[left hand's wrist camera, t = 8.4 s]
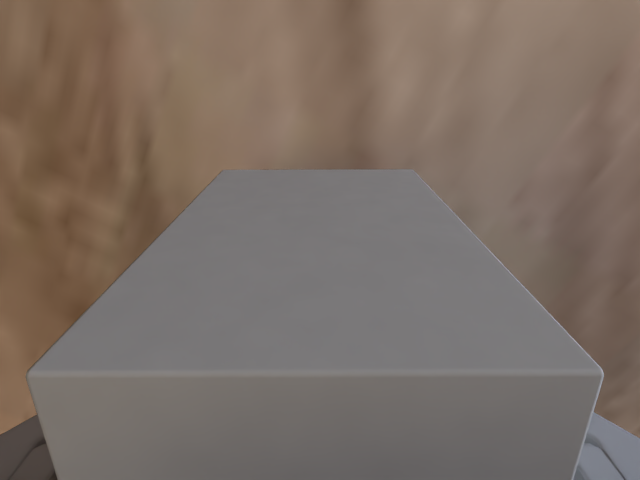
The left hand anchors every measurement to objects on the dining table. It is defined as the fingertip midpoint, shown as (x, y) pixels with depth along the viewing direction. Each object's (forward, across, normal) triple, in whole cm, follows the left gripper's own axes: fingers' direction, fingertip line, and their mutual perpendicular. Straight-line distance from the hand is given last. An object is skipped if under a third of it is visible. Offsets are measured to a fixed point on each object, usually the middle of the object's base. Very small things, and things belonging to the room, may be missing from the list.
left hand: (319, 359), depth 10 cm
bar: (+4, 0, -8) cm, 9 cm away
